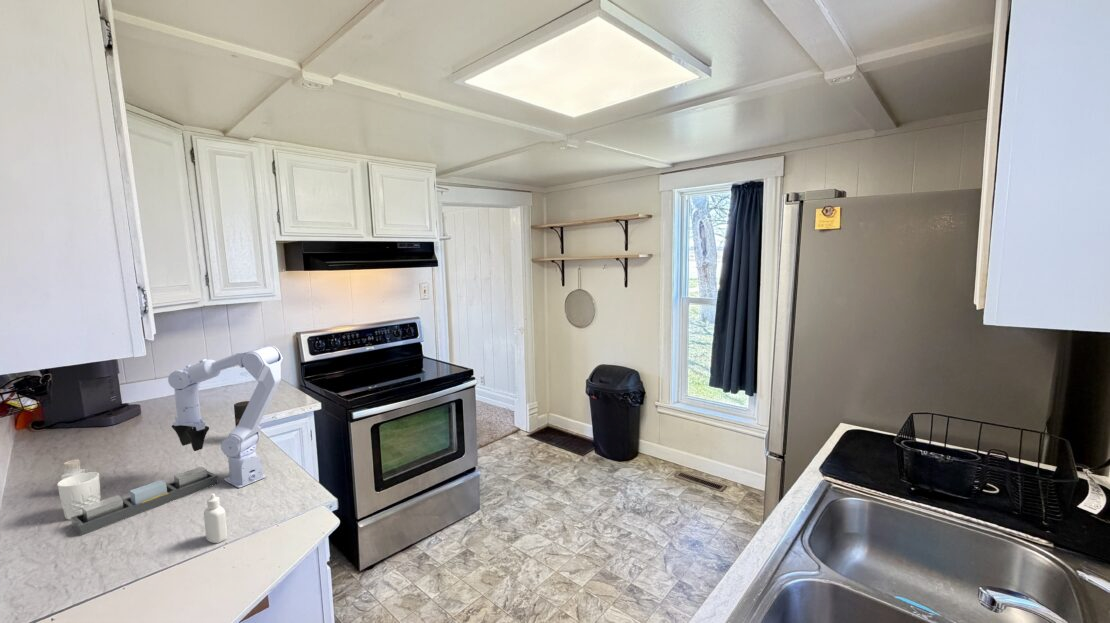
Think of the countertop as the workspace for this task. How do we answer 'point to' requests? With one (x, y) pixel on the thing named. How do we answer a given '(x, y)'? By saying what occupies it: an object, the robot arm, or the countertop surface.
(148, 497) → the light blue rectangular block
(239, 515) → the countertop surface
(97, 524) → the tray
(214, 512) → the eye dropper bottle
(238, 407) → the deodorant
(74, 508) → the white cup
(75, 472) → the salt shaker
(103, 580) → the countertop surface
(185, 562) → the countertop surface
